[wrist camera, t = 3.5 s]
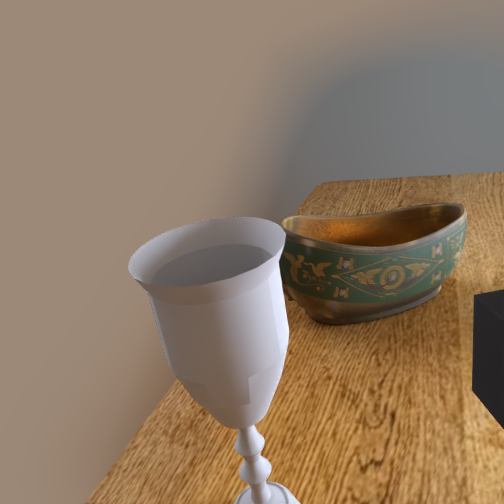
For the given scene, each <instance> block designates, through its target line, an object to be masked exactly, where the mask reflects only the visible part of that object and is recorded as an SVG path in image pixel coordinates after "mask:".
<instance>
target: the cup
mask: <svg viewBox="0 0 504 504" xmlns="http://www.w3.org/2000/svg"><path fill="white" fill-rule="evenodd" d="M466 225H467V216H466V209H465V208H464V206H462V205H460V204H456V203H448V202H446V203H444V202H442V203H432V204H423V205H417V206H411V207H405V208H401V209H396V210H391V211H385V212H380V213H372V214H364V215H351V216H326V215H325V216H321V215H294V216H289V217H285V218H283V219H282V220H281V221H280V223H279V226H281V228H282V229H283V231H284V232H285V233H286V238H285V245H284V248H283V251H282V253H281V256H280V259H279V269H280V275H281V278H282V281H283V282H282V289H283V292H284V293H285V294H286V296H287V297H288V301H292V300H295V301H296V302H297V303H298V304H299V305H300V306H301V307H303V308H304V309H305V311H306V313H307V314H308V315H309V316H310V317H311V318H313V319H315V320H316V321H319V322H322V323H327V324H352V323H360V322H365V321H371V320H376V319H380V318H384V317H388V316H391V315H395V314H397V313H401V312H403V311H406V310H409V309H411V308H414V307H416V306H418V305H421V304H423V303H424V302H426V301H428V300H430V299H432V298H433V297H434V296H436V295H437V294H438V293H439V292H440V290H441V285H442V284H443V283H444V282H445V281H446V279H447V278H448V277H449V276H450V274H451V273H452V272H453V270H454V268H455V267H456V264H457V262H458V260H459V257H460V255H461V251H462V249H463V245H464V241H465V234H466Z"/></svg>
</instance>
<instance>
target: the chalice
mask: <svg viewBox="0 0 504 504" xmlns="http://www.w3.org/2000/svg"><path fill="white" fill-rule="evenodd" d="M285 238H286V233H285V232H284V231H283V229H282V228H281V226H279V225H277V224H275V223H273V222H271V221H269V220H265V219H259V218H254V217H226V218H216V219H210V220H205V221H200V222H196V223H191V224H188V225H185V226H182V227H179V228H176V229H173V230H170V231H168V232H166V233H164V234H162V235H160V236H157V237H155V238H153V239H152V240H150V241H149V242H147V243H146V244H144V245H143V246H142V247H140V248H139V249H138V250H137V251H136V252H135V253H134V255H133V256H132V257H131V258H130V262H129V267H128V270H129V271H130V273H131V274H132V276H133V277H134V278H135V280H136V281H137V282H138V283H139V284H140V285H141V286H142V287H143V288H144V289H145V290H146V291H147V292H148V296H149V299H150V303H151V307H152V310H153V314H154V317H155V321H156V324H157V328H158V332H159V335H160V338H161V342H162V346H163V349H164V353H165V357H166V360H167V362H168V364H169V366H170V368H171V369H172V371H173V372H174V374H175V375H176V377H177V378H178V379H179V381H180V382H181V383H182V385H183V386H184V387H185V388H186V390H187V391H188V392H189V394H190V395H191V396H192V398H193V399H194V400H196V401H197V402H198V403H199V404H200V405H201V406H202V407H203V408H204V409H205V410H206V411H207V412H209V413H210V414H211V415H212V416H213V417H214V418H215V419H216V420H217V421H218V422H219V423H221V424H222V425H224V426H225V427H228V428H232V429H238V438H237V440H236V442H235V449H236V451H237V452H238V453H239V454H240V455H242V456H243V457H244V459H245V461H244V462H243V463H242V465H241V467H240V471H239V473H240V477H241V478H242V480H243V481H245V482H246V483H249V484H250V486H249V487H247V488H246V489H244V490H243V491H242V492H241V493H240V494H239V496H238V497H237V499H236V500H235V502H234V504H301V503H299V502H298V501H297V499H296V498H295V497H294V496H293V495H292V494H291V492H290V491H289V490H288V489H287V488H285V487H284V486H282V485H281V484H278V483H274V482H270V481H266V479H267V478H268V477H269V475H270V473H271V465H270V463H269V461H268V460H267V459H265V458H264V457H261V455H260V453H261V450H262V448H263V446H264V442H265V441H264V438H263V436H262V435H261V434H259V433H258V432H257V430H256V428H255V426H254V424H256V423H258V422H259V421H260V420H261V419H262V418H263V417H264V416H265V414H266V413H267V411H268V408H269V406H270V403H271V401H272V398H273V395H274V393H275V390H276V388H277V385H278V382H279V380H280V377H281V375H282V370H283V365H284V360H285V356H286V351H287V346H288V338H289V328H288V321H287V315H286V308H285V302H284V295H283V289H282V282H281V275H280V269H279V259H280V256H281V253H282V251H283V248H284V245H285Z"/></svg>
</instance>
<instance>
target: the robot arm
mask: <svg viewBox="0 0 504 504" xmlns="http://www.w3.org/2000/svg"><path fill="white" fill-rule="evenodd" d="M472 391H473V392H474V393H475V395H476V396H477V397H478V398H479V399H480V401H481V402H482V403H483V404H484V406H485V407H486V408H487V409H488V411H489V412H490V413H491V414H492V416H493V417H494V418H495V419H496V420H497V422H498V423H499V424H500V425H501V427H502V428H503V429H504V290H498V291H493V292H488V293H483V294H477V295H474V320H473V369H472Z"/></svg>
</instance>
